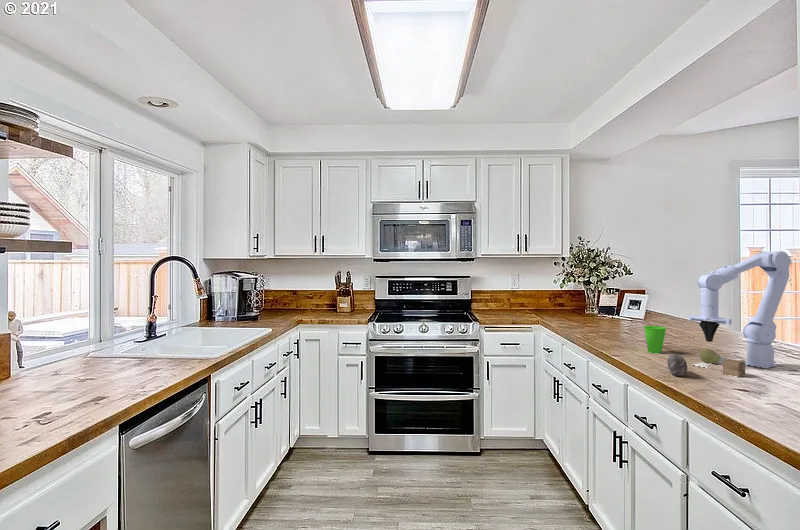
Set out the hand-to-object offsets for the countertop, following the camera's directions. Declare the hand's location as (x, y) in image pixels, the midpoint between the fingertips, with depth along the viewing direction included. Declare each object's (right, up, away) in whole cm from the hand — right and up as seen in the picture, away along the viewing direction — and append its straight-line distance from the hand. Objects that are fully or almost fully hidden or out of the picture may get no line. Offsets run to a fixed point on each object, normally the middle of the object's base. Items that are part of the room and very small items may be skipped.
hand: (709, 341), depth 185 cm
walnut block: (-1, -10, -14) cm, 17 cm away
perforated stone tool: (-20, -10, -12) cm, 25 cm away
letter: (+2, -9, -2) cm, 10 cm away
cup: (-7, -9, +26) cm, 29 cm away
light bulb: (+6, -8, -2) cm, 10 cm away
